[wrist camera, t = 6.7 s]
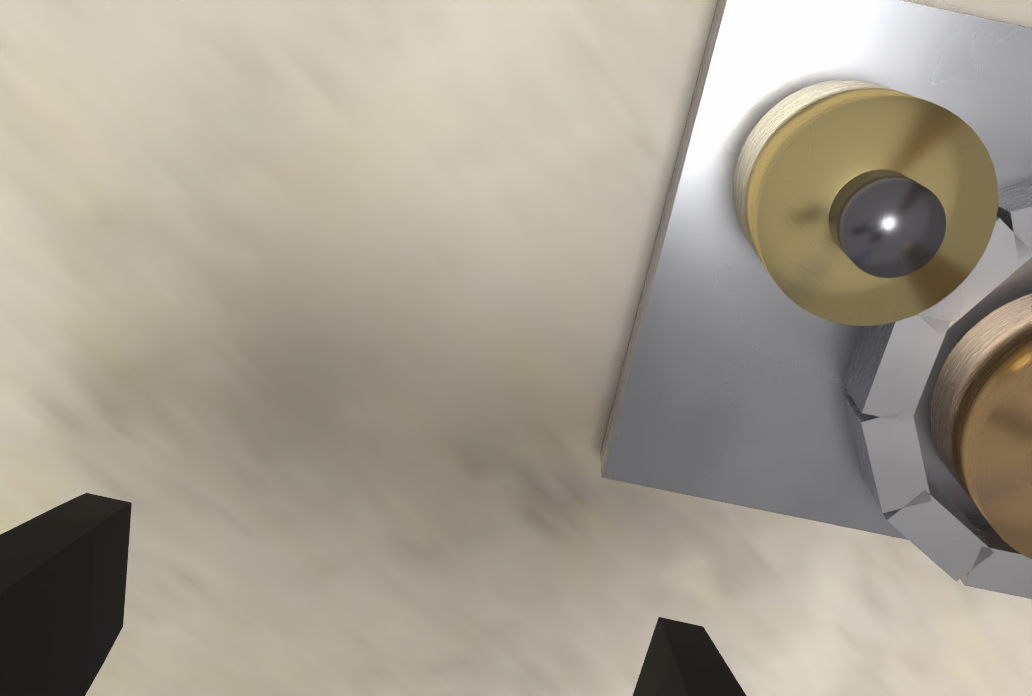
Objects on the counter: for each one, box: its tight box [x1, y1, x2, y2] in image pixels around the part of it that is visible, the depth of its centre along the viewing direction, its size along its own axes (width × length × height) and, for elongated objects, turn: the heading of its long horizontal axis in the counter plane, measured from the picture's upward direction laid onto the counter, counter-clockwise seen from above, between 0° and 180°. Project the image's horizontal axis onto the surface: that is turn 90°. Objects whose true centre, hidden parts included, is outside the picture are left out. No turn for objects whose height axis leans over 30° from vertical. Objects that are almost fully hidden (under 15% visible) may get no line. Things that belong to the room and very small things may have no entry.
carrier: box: [601, 0, 1032, 599], centre depth 18 cm, size 11×14×5 cm
